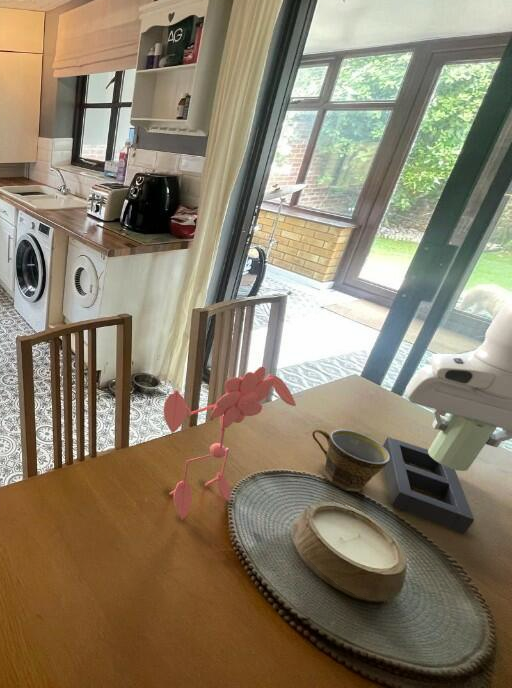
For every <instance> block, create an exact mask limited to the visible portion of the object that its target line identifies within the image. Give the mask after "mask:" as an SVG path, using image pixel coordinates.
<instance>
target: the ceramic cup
mask: <svg viewBox="0 0 512 688" xmlns="http://www.w3.org/2000/svg"><path fill="white" fill-rule="evenodd" d="M316 433H318V434H320V435H322V436H323V437H324V438H325V439H326V442H327V450H326V449H325V448H324V447H323V445H322V443H321V442H320V441H319V439H318V438H317V437H316ZM311 435H312V438H313V440H315V442H316V444H318V446H319V448H320V450H321V451H322V452H323V453H324V456H325V466H324V471H323V473H324V476H325V477H326V478H327V479H328V480H329V483H331V484H332V485H335V486H337V487H339V488H340V489H342V490H344V491H348V492H358V493H359V492H360V491H361V490H362V489H363V488H364V487H365V486H366V485H367V484H368V483H369V481H370V480H371V479H372V478H373V477H375V476H376V475H377V474H378V473H379V472H380V471H382V470H383V469H384V468H385V467H384V466H385V465H386V464H387V463H388V462H389V460H390V455H389V453H388V452H387V450H386V449H385V448H384V447H383V445H382V444H380V443H379V442H377V440H375V439H373V438H371V437H370V436H367V435H365V434H363V433H360V432H356V431H353V430H349V429H336V430H333V431H332V432H331V434H329V433H328V432H327V431H325V430H323V429H314V430H313V431H312V434H311Z"/></svg>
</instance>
